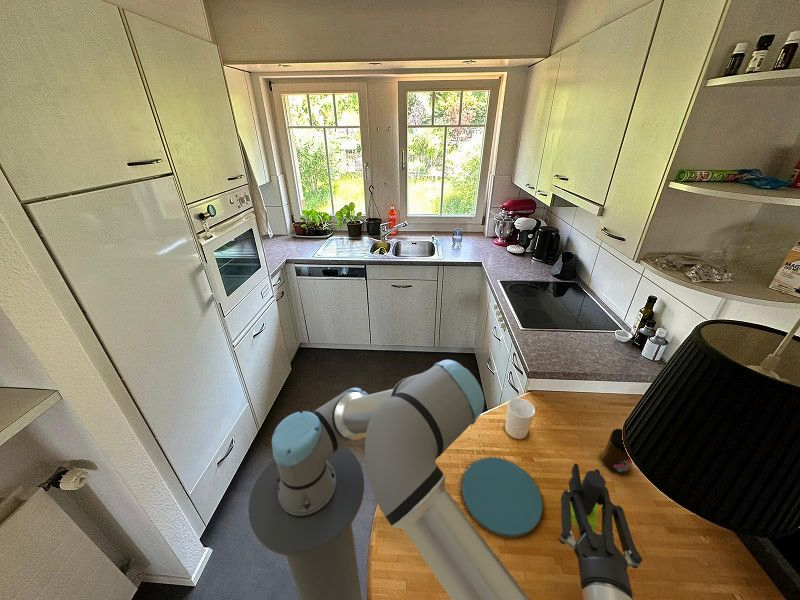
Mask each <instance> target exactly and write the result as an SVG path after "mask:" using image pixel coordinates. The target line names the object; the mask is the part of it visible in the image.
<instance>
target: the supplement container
mask: <svg viewBox="0 0 800 600" xmlns="http://www.w3.org/2000/svg"><path fill="white" fill-rule="evenodd" d="M622 429H623V428H616V429H613V430H612V432H611V434H610V436H609V439H608V442H607V443H606V445H605V448H604V450H603V453H602V455H601V460H602V462H603V464H604V465H605V467H606V468H607V469H609V470H610V471H612V472H614V473H616V474H625V473H627V472H628V471H630V469H631V466H632V464H633V462H632V461H631V459H630V457H629V456H628V454H627V452H626V450H625V447H624V444H623V440H622Z"/></svg>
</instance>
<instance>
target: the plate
mask: <svg viewBox="0 0 800 600" xmlns="http://www.w3.org/2000/svg"><path fill="white" fill-rule="evenodd" d="M461 495H462V499H463V503H464V505H465V507H466V509H467V511H468V513H469V514H470V515H471V517H472V518H473V520H474V521H475V522H477V523H478V524H479V525H480V526H481V527H482V528H483V529H485V530H487V531H488V532H490V533H491V534H495V535H497V536H500V537H505V538H519V537H524V536H525V535H528V534H529V533H531V532H532V531H533V530H534V529H536V527H537V525H538V524H539V522H540V520H541V517H542V514H543V500H542V496H541V493H540V490H539V488H538V486H537V484H536V483H535V481H534V479H533V478H532V477H531V476H530V475H529V473H527V472H526V471H525V470H524V469H523V468H522V467H520V466H519V465H517V464H515V463H514V462H512V461H509V460H507V459H503V458H499V457H484V458H481V459H478V460H475V461H474V462H473V463H471V464H470V465H469V466H468V467H467V469H466V470H465V472H464V474H463V476H462V482H461Z"/></svg>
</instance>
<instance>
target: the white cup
mask: <svg viewBox="0 0 800 600" xmlns="http://www.w3.org/2000/svg"><path fill="white" fill-rule="evenodd" d="M535 414H536V408H535V406H534V404H532V403H531V402H530V401H529V400H526V399H525V398H522V397H514V398H511V399H509V401H508V402H507V408H506V414H505V425H504V429H505V432H506V434H508V435H509V436H510V437H511V438H514V439H517V440H521V439H524V438H526V437H527V436H528V433H529V430H530V428H531V425H532V423H533V419H534V417H535Z"/></svg>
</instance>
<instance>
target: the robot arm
mask: <svg viewBox="0 0 800 600" xmlns="http://www.w3.org/2000/svg"><path fill="white" fill-rule="evenodd" d="M484 406H485V397H484V392H483V391H482V387H481V385H480V383H479V382H478V380H477V379H476V377H475V376H474V375H473V373H472V372H471V371H470V370H469V369H468V368H467V367H464V366H463V365H462V364H461V363H460V362H458V361H456V360H453V359H443V360H441V361H438V362H435V363H434V364H433V366H432V367H431V368H430V367H429V369H427V370H425V371H423V372H421V373H417V374H414V375H410V376H407V377H404V378H402V379H401V380H399V381H398V382H397V383H396V384H395V386H394V387H393V388H390V389H387V390H383V391H379V392H374V393H371V394H369V393H368V392H366V391H365V390H364V391H363V389H362V388H360V387H351V388H348V389H346V390H344V391H342V392H341V393H340V394H339V395H337V396H335V397H334V398H333V399H331V400H329V401H328V402H326V403H324V404H323V405H321V406H320V407H318V408H317V409H315V410H314V411H307V410H303V411H302V412H300V411H297V412H294V413H291V414H290V415H287V416H286V417H285V418H283V419H282V420H281V421H280V422H279V424H278V425H276V428H275V429H274V431H273V434H272V436H271V437H272V438H271V447H272V456H273V460H274V459H275V461H276V464H277V467H278V471H279V474H280V477H279V478H277V481H278V482H279V481H280V483H279V487H278V499H279V502H280V505H281V507H282V509H283V510H284V511H285V512H286V513H287V514H289V515H291V516H293V517H308V516H312V515H314V514H316V513H318V512H320V511H321V510H322V509H324V508H325V507H326V506H327V505H328V504H329V502H330V501H331V499H332V498H333V496H334V494H335V491H336V486H337V480H336V475H335V472H334V469H333V467H332V466H331V465H330V463H329V462H328V461H327V460H326V458H327V457H328V456H330V455H331V454H332V453H333V452H335V451H336V450H337V449H339V448H340V447H341V446H345V444H347V443H348V442H350V441H359V440H362V439H364V438H365V439H364V457H365V458H364V461H365V468H366V474H367V479H368V481H369V485H370V489H371V492H372V494H373V497H374V500H375V501H376V504H377V505H378V508H379V509H380V511H381V513H382V514H383V516H384V518H385V519H386V520H387V522H388V523H389V525H390V526H391V527H392V528H393V529H397V530H403V531H404V532H405V534H406V535H407V537H408V538H409V540H410V541H411V543H412V545H414V547H415V549H416V550H417V551H418V553H419V554H420V556H421V557H422V559H423V560H424V562H425V563H426V565H427V566H428V568H429V569H430V570H431V572H432V573H433V575H434V576H435V578H436V579H437V581H438V582H439V584H440V585H441V587H442V588H443V589H444V591H445V593H446V594H447V595H448V597H449V598H450V600H531V599H530V598H529V596H528V595H527V594H526V592H525V591H524V589H522V587H521V585H519V583H518V582H517V580H516V579H515V578H514V577H513V575H512V573H510V571H509V570H508V569H507V568H506V567H507V566H505V565H504V563H503V562H502V561H501V559H500V558H499V557H498V556H497V554H496V553H495V551H494V550H493V549H492V548H491V546H490V545H489V543H488V542H487V541H486V540H485V538H484V537H483V536H482V535H481V533H480V531H478V529H477V528H476V527H475V525H474V524H473V522H472V521H471V520H470V518H469V517H468V515H466V514H465V512H464V511H463V510H462V508H461V507H460V505H459V504H458V503H457V502H456V500H455V499H454V498H453V497H452V495H451V494H450V492H449V491H448V490H447V489H446V475H445V473H444V472H443V471H442V469H441V468H440V467H439V466H438V464H437V463H436V460H437V459H438V458H440V456H441V455H442V454H444V453H445V451H446V450H447V449H448V448H449V447H450V446H451V445H452V444H453V443H454V442H455V441H456V440H457V439H458V438H459V437H460V436H461V435H463V433H464V432H466V431H467V429H468V428H469V427H470V426H471V425H475V424H476V421H477V419H479V417H480V416H481V415H482V414H483V411H484V408H485V407H484ZM594 471H595V472H597V473H599V474H600V475H601V471H600V469H597V468H595V469H594ZM581 480H582V479H581V475H580V468H579V464H578V463H575V462H574V463H573V466H572V469H571V476H570V478H569V481H568V490H570V491H568V490H567V489H564V490H563V492H562V494H561V497H560V511H561V532H560V534H559V537H558V541H559V543H560V544H562V545H565V544H566V545H568V546H569V547H570V548H572V549H573V552H574V554H575V555H576V558H577V564H578V565H577V566H578V572H579V580H580V581H579V582H580V587H581V589H582V591H581V594H582V600H633V598H634V596H633V591H632V587H631V582H630V577H629V574H628V567H632V568H633V569H638V568H639V566H640V565H641V563H642V562H643V557H642V556H641V554H640V552H639V551H638V549H637V548H636V546H635V543H634V540H633V536H632V534H631V530H630V527H629V523H628V521H627V517H626V515H625V511H624V509H623V507H622V506H621V505H616V504H614V503H613V502H612V501H611V498H610V494H609V493H610V492H609V489H608V488H607V486H605V487H604V489H603V491H602V493H601V495H600V497H599V499H598V501H597V504H598V506H601V508H600V510H601V533H602V535H599V534H597V533H595V532H593V530H592V527H591V525H590V524H589V522H588V519H587V516H586V513H585V510H584V507H583V504H582V501H581V498H580V495H581V493H582V487H581V484H582V481H581ZM570 501H571V504H572V507H573V511H574V514H575V517H576V520H577V524H578V526H577V527H578V529H579V536H580V537H579V538H578V540H575V535H574V532H573V531H572V527H573V526H572V525H573V524H572V523H571V505H570ZM613 521H614V524H613ZM613 525H615V528H616V531H617V535H618V539H619V541H620V545H621V549H622V552H623V553H622V552H621V551H620V549H619V548H618V547H617V545H615V541H614V540H615V538H614V535H615V534H614V533H613V531H614V530H613V529H614V528H613Z"/></svg>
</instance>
